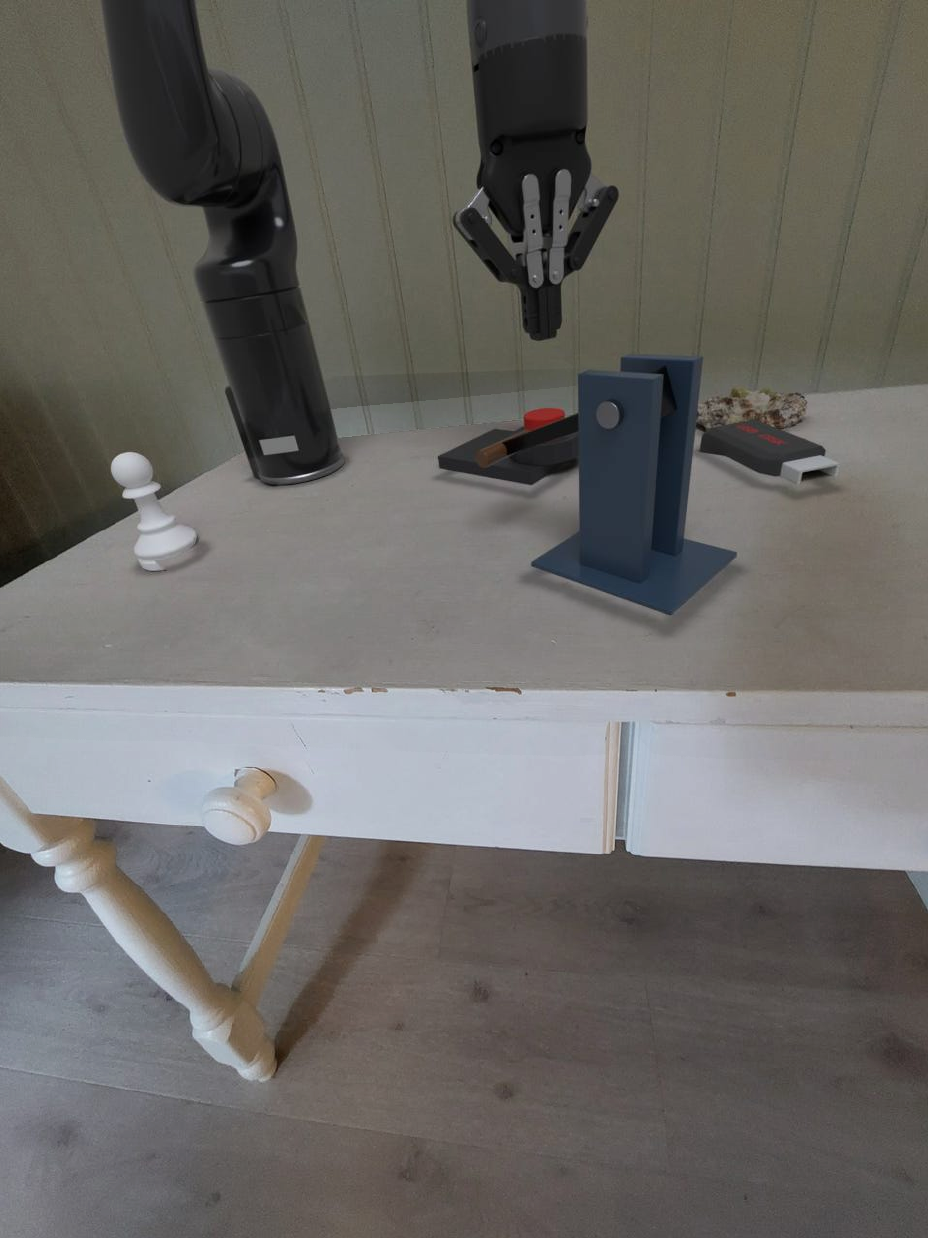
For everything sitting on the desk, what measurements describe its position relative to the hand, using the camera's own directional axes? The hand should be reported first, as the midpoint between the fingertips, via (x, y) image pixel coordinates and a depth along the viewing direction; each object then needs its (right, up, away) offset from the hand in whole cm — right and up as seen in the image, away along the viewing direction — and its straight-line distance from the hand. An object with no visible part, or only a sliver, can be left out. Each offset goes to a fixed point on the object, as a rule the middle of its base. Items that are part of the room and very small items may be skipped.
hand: (542, 338), depth 46 cm
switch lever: (0, -12, -11) cm, 17 cm away
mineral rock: (+23, -3, +11) cm, 26 cm away
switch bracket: (+4, -20, -9) cm, 23 cm away
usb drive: (+19, -10, +2) cm, 22 cm away
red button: (+1, -7, +5) cm, 8 cm away
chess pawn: (-31, -18, +2) cm, 36 cm away
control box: (-2, -8, +9) cm, 12 cm away
